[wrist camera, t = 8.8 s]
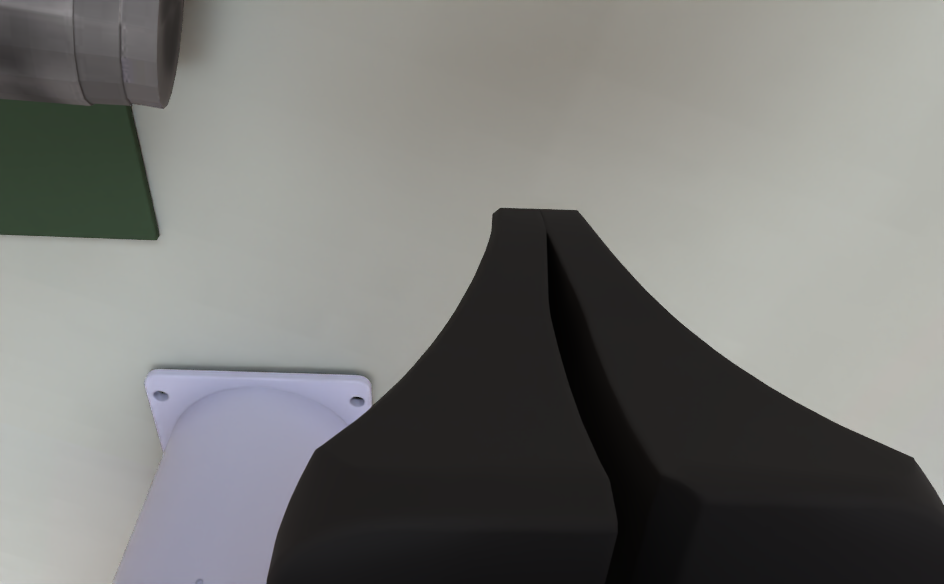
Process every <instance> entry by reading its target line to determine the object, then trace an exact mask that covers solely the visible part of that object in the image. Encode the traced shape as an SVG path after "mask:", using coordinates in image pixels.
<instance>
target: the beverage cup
mask: <svg viewBox="0 0 944 584" xmlns="http://www.w3.org/2000/svg"><path fill="white" fill-rule="evenodd" d="M183 7H184V0H0V99H9V100H22V101H34V102H47V103H60V104H72V105H85V106H92V105H94V104H108V105H127V106H131V105H132V104H138V105H144V106H150V107H156V108H163V109H164V108H165V107H166V106H167V105H168V102H169V99H170V96H171V93H172V89H173V85H174V80H175V75H176V69H177V63H178V56H179V49H180V40H181V31H182V21H183Z"/></svg>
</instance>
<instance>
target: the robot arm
mask: <svg viewBox="0 0 944 584" xmlns="http://www.w3.org/2000/svg"><path fill="white" fill-rule="evenodd" d="M144 385H145V389H146V393H147V396H148V400H149V403H150V407H151V411H152V414H153V418H154V422H155V425H156V429H157V432H158V436H159V440H160V443H161V447H162V450H163V456H162V459H161V461H160V464H159V466H158V469H157V471H156V474H155V476H154V479H153V481H152V484H151V486H150V489H149V491H148V494H147V496H146V499H145V501H144V504H143V506H142V509H141V511H140V514H139V516H138V519H137V522H136V524H135V527H134V529H133V532H132V534H131V537H130V539H129V542H128V544H127V547H126V549H125V552H124V554H123V557H122V559H121V562H120V564H119V567H118V569H117V572H116V574H115V577H114V579H113V582H112V584H944V505H943V503H942V501H941V499H940V498H939V496H938V494H937V493H936V491H935V489H934V488H933V486H932V485H931V483H930V482H929V480H928V479H927V477H926V476H925V474H924V473H923V471H922V470H921V468H920V467H919V465H918V464H917V463H916V461H915V460H914V458H913V457H910V456H908V455H906V454H904V453H901V452H899V451H897V450H895V449H892V448H890V447H888V446H886V445H883V444H881V443H879V442H877V441H874V440H872V439H870V438H868V437H865V436H863V435H861V434H859V433H856V432H854V431H852V430H850V429H847V428H845V427H843V426H841V425H839V424H837V423H835V422H833V421H831V420H829V419H827V418H825V417H823V416H821V415H819V414H818V413H816V412H814V411H812V410H810V409H808V408H806V407H804V406H802V405H801V404H799V403H797V402H795V401H793V400H791V399H790V398H788V397H786V396H785V395H783V394H781V393H779V392H778V391H776V390H774V389H772V388H771V387H769V386H767V385H766V384H764V383H763V382H761V381H760V380H758V379H757V378H755V377H754V376H752V375H750V374H749V373H747V372H746V371H744V370H743V369H741V368H740V367H738V366H737V365H735V364H734V363H732V362H731V361H729V360H728V359H727V358H725V357H724V356H722V355H721V354H719V353H718V352H717V351H715V350H714V349H713V348H712V347H710V346H709V345H708V344H706V343H705V342H704V341H703V340H701V339H700V338H699V337H698V336H696V335H695V334H694V333H692V332H691V331H690V330H689V329H687V328H686V327H685V326H684V325H683V324H682V323H680V322H679V321H678V320H677V319H676V318H675V317H673V316H672V315H671V314H670V313H669V312H668V311H667V310H666V309H665V308H664V307H663V306H662V305H661V304H660V303H659V302H657V301H656V300H655V299H654V298H653V297H652V296H651V295H650V294H649V293H648V292H647V291H646V290H645V289H644V288H643V287H642V286H641V285H640V284H639V283H638V281H637V280H636V279H635V278H634V277H633V276H632V275H631V274H630V273H629V272H628V270H627V269H626V268H625V267H624V266H623V265H622V264H621V263H620V261H619V260H618V259H617V258H616V257H615V256H614V254H613V253H612V252H611V251H610V250H609V248H608V247H607V246H606V245H605V244H604V242H603V241H602V240H601V239H600V237H599V236H598V235H597V234H596V232H595V231H594V230H593V229H592V227H591V226H590V225H589V224H588V222H587V221H586V220H585V219H584V218H583V216H582V215H581V214H580V213H579V212H578V211H577V210H552V209H519V208H500V209H498V210H497V211H496V212H495V213H493V217H492V231H491V235H490V239H489V242H488V245H487V248H486V251H485V253H484V256H483V258H482V260H481V262H480V265H479V267H478V269H477V272H476V274H475V276H474V278H473V280H472V282H471V284H470V286H469V287H468V289H467V291H466V293H465V295H464V296H463V298H462V300H461V302H460V303H459V305H458V307H457V309H456V310H455V312H454V313H453V315H452V316H451V318H450V320H449V321H448V322H447V324H446V325H445V327H444V328H443V330H442V331H441V332H440V334H439V335H438V336H437V338H436V339H435V341H434V342H433V343H432V344H431V346H430V347H429V348H428V349H427V350H426V352H425V353H424V354H423V355H422V356H421V358H420V359H419V360H418V361H417V362H416V363H415V365H414V366H413V367H412V368H411V369H410V370H409V371H408V372H407V373H406V375H405V376H404V377H403V378H402V379H401V380H400V381H399V382H398V383H397V384H396V385H395V386H393V387H392V388H391V389H390V390H389V391H388V392H387V393H386V394H385V395H384V396H383V397H382V398H381V399H379V400H378V401H377V402H376V403H375V404H374V405H373V406H372V385H371V382H370V381H369V380H368V379H367V378H366V377H364V376H360V375H343V374H309V373H276V372H243V371H209V370H176V369H154V370H152V371H150V372H149V373H148V374H147V376H146V378H145V380H144ZM159 391H163V392H165V393H166V394H164V393H161V392H159ZM353 397H361V398H362V399H355V398H353Z"/></svg>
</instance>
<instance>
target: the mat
mask: <svg viewBox="0 0 944 584" xmlns="http://www.w3.org/2000/svg"><path fill="white" fill-rule="evenodd" d="M0 234H1V235H28V236H55V237H83V238H110V239H137V240H157V239H158V237H159V231H158V227H157V222H156V218H155V213H154V209H153V205H152V200H151V196H150V191H149V187H148V182H147V178H146V174H145V169H144V165H143V160H142V156H141V151H140V147H139V143H138V138H137V134H136V129H135V125H134V120H133V116H132V111H131V107H130V106H127V105H108V104H94V105H92V106H85V105H72V104H60V103H47V102H34V101H22V100H9V99H0Z"/></svg>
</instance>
